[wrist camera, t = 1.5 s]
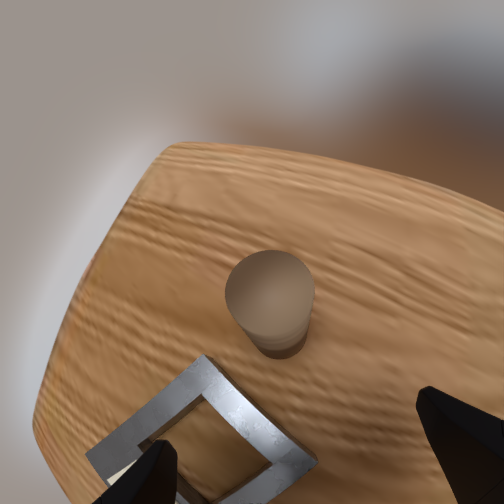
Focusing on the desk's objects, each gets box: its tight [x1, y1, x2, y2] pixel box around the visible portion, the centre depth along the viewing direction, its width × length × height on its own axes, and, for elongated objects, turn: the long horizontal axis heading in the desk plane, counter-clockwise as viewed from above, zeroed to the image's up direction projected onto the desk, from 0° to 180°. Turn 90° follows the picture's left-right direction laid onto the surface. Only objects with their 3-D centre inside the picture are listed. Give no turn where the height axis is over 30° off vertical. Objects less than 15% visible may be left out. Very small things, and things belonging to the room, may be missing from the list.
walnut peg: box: [225, 250, 315, 359], centre depth 17 cm, size 4×4×10 cm
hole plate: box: [85, 354, 318, 504], centre depth 16 cm, size 12×16×3 cm
